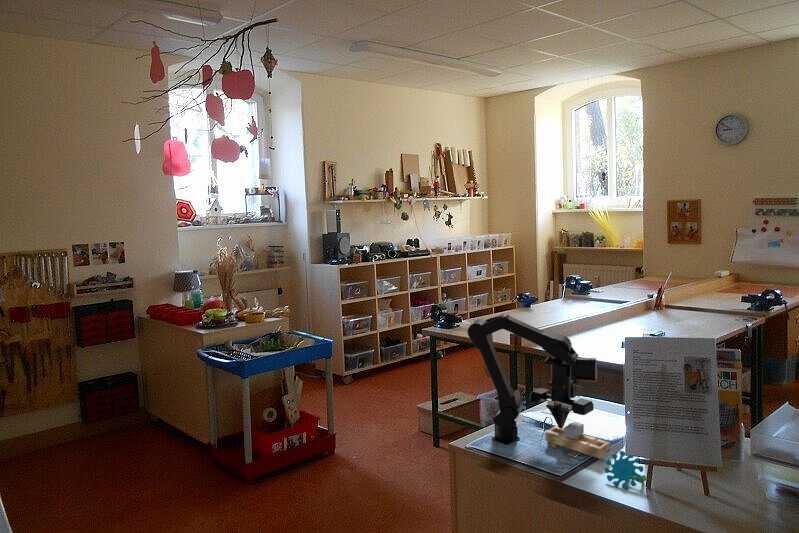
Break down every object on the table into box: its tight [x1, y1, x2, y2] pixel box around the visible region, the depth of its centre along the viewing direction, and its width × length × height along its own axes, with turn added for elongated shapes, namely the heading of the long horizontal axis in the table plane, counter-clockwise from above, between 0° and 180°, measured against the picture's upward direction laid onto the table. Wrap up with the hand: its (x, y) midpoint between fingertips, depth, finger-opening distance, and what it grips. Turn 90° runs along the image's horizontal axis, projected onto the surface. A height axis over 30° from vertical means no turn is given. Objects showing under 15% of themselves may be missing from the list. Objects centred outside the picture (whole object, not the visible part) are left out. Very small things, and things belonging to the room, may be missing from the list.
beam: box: [544, 425, 611, 459], centre depth 180 cm, size 18×6×5 cm, turn 43°
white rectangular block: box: [563, 421, 585, 440], centre depth 180 cm, size 3×6×4 cm, turn 133°
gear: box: [603, 450, 648, 490], centre depth 162 cm, size 11×6×10 cm
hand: (561, 427), depth 183 cm, fingers closed
